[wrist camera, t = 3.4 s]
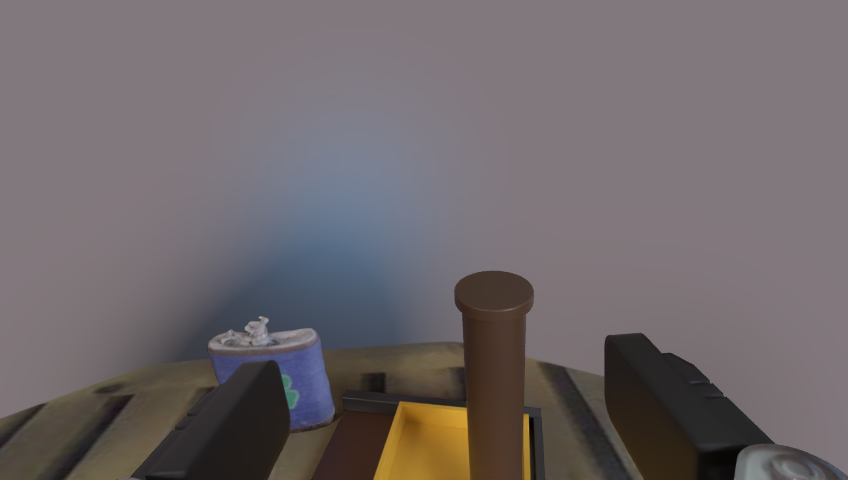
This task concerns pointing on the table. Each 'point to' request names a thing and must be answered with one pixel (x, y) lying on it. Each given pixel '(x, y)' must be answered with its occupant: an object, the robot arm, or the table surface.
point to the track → (369, 428)
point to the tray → (433, 444)
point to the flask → (281, 368)
